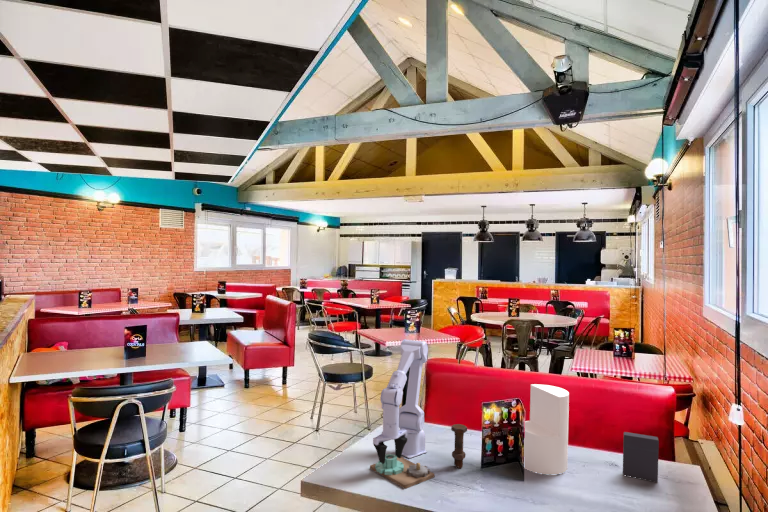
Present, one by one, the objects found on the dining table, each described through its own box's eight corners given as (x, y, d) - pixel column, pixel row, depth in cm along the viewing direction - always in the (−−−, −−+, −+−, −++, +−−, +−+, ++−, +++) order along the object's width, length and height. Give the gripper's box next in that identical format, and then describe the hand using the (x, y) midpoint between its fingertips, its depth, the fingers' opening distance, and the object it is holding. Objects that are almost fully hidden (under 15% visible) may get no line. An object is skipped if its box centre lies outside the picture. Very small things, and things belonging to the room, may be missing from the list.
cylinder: (547, 453, 193) (549, 383, 193) (577, 471, 177) (579, 395, 176) (510, 458, 188) (511, 386, 187) (537, 478, 171) (539, 399, 171)
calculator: (656, 478, 173) (657, 436, 173) (657, 483, 169) (658, 440, 169) (622, 471, 178) (623, 430, 177) (622, 476, 174) (623, 434, 174)
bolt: (465, 464, 181) (466, 424, 181) (466, 470, 176) (467, 429, 176) (450, 463, 182) (451, 423, 182) (450, 469, 177) (451, 428, 177)
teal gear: (391, 460, 181) (391, 448, 181) (409, 469, 173) (409, 458, 173) (370, 467, 174) (370, 455, 174) (387, 477, 167) (388, 465, 167)
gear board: (399, 458, 185) (399, 445, 185) (434, 477, 170) (434, 462, 170) (370, 468, 176) (370, 454, 176) (404, 488, 161) (405, 473, 161)
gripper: (398, 414, 181) (398, 451, 181) (368, 423, 172) (367, 461, 172) (411, 420, 176) (410, 457, 176) (380, 428, 166) (379, 468, 167)
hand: (390, 459), depth 174 cm, fingers open, 7 cm apart
